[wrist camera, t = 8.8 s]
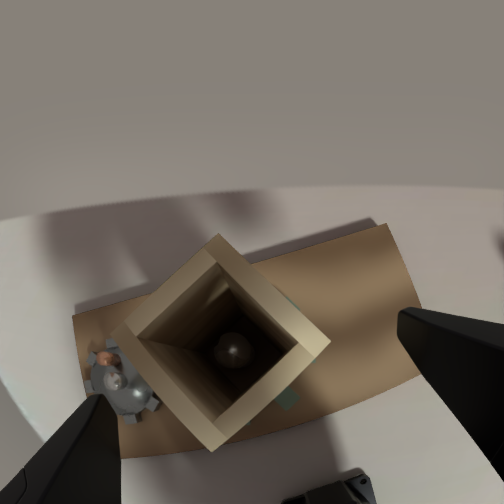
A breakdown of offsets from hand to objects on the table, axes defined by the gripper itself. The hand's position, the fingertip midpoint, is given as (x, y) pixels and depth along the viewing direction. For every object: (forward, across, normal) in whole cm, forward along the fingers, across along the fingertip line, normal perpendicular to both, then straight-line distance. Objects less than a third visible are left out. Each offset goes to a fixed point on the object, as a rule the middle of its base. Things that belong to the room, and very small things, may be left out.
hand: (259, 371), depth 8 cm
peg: (+10, 0, +7) cm, 12 cm away
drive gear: (+10, +8, +7) cm, 15 cm away
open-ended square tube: (+10, 0, +7) cm, 12 cm away
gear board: (+11, -1, +7) cm, 13 cm away
